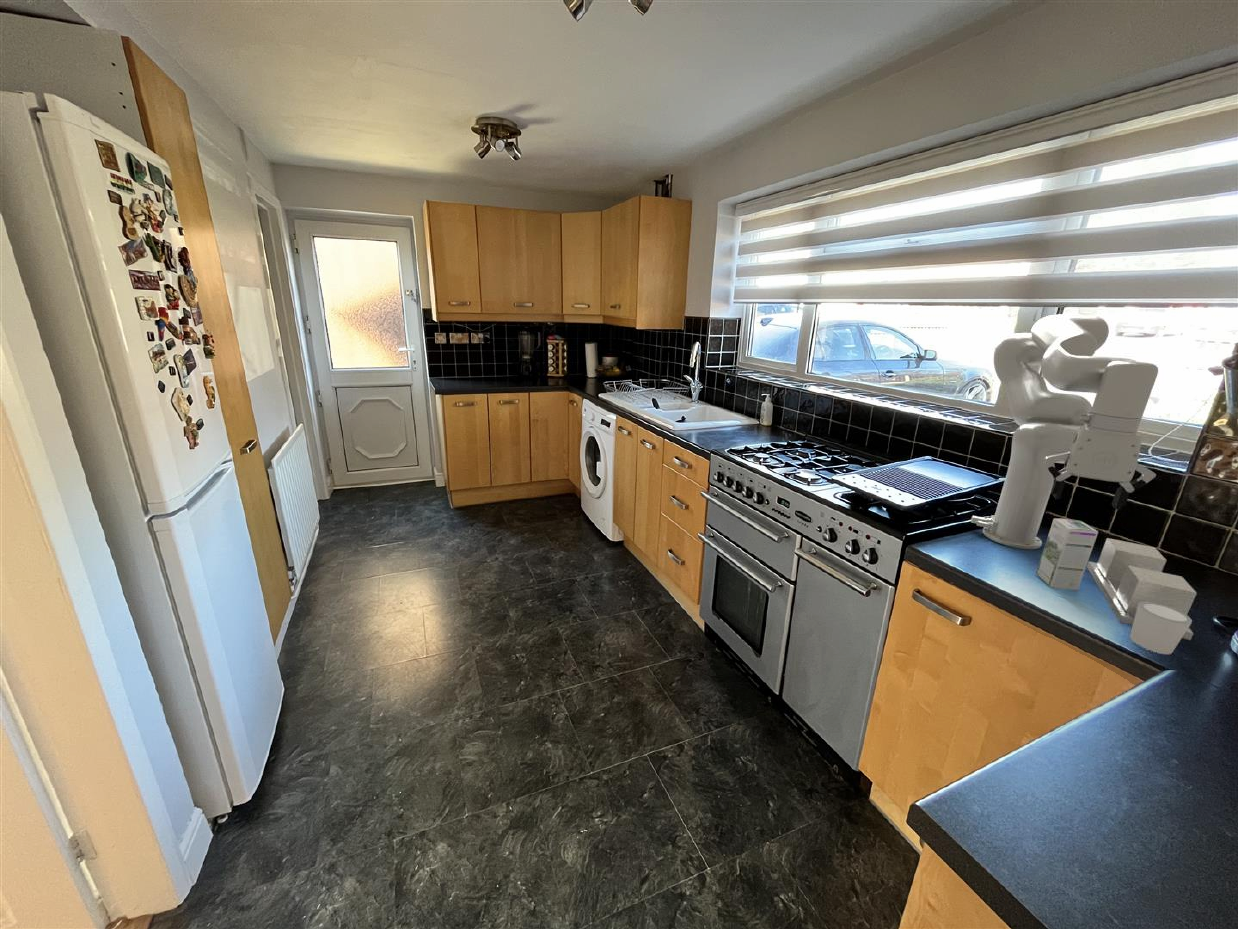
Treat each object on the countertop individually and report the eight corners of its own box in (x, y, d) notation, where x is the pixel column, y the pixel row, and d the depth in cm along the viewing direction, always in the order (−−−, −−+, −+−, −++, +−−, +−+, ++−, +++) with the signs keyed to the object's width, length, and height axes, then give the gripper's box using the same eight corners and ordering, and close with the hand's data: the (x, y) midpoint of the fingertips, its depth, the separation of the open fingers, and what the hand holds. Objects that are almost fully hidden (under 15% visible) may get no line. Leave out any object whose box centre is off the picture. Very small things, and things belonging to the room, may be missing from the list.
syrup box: (1079, 591, 109) (1101, 531, 105) (1048, 587, 110) (1069, 527, 106) (1062, 578, 115) (1083, 520, 110) (1033, 574, 116) (1052, 517, 111)
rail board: (1119, 622, 99) (1135, 583, 96) (1086, 566, 120) (1099, 533, 117) (1190, 640, 94) (1209, 599, 91) (1143, 579, 115) (1157, 545, 113)
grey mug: (1162, 637, 95) (1176, 605, 92) (1187, 660, 88) (1203, 627, 86) (1116, 629, 97) (1129, 597, 94) (1138, 651, 90) (1152, 618, 88)
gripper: (1061, 420, 102) (1036, 498, 107) (1179, 434, 94) (1147, 518, 99) (1054, 414, 108) (1031, 489, 113) (1164, 427, 100) (1134, 506, 105)
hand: (1085, 502), depth 106 cm, fingers open, 9 cm apart
